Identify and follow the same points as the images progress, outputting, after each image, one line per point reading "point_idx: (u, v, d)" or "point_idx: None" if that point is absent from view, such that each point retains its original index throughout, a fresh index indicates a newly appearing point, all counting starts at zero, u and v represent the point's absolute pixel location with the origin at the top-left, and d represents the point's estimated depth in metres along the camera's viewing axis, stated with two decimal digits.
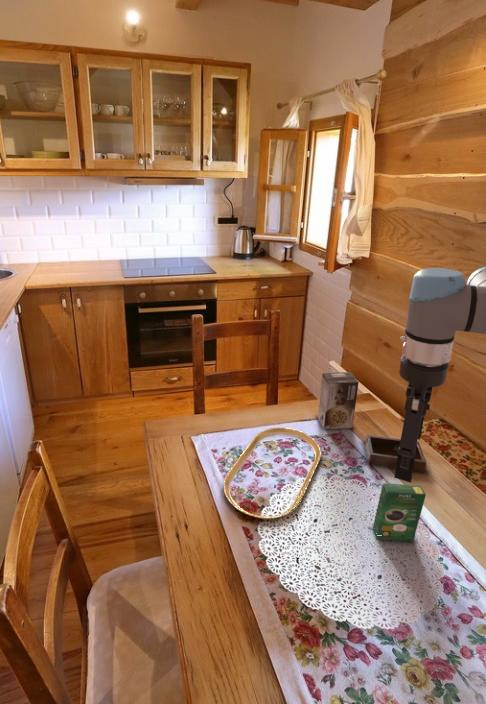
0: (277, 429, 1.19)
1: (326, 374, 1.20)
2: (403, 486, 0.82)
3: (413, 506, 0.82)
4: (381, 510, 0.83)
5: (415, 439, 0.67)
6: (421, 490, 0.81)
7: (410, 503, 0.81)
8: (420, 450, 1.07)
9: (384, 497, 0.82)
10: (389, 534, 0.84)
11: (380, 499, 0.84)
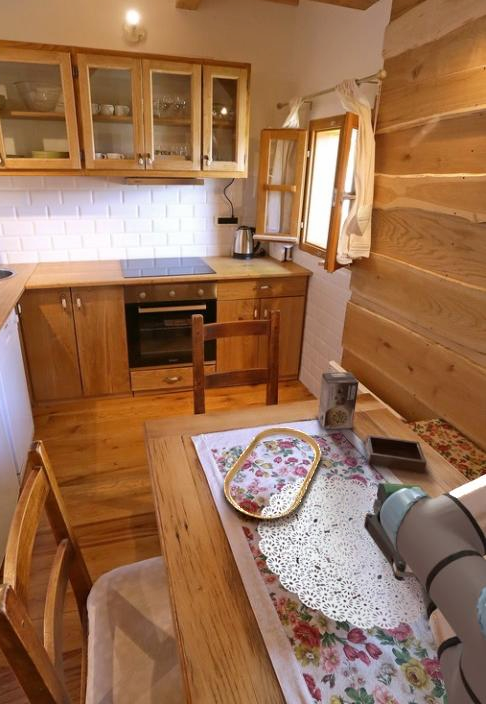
0: (277, 429, 1.19)
1: (326, 374, 1.20)
2: (403, 486, 0.82)
3: None
4: None
5: None
6: None
7: None
8: (420, 450, 1.07)
9: None
10: None
11: None
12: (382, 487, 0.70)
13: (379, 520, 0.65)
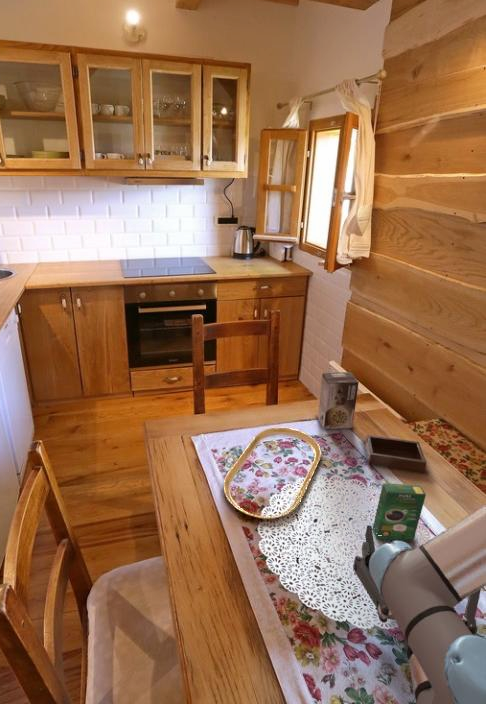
0: (277, 429, 1.19)
1: (326, 374, 1.20)
2: (403, 486, 0.82)
3: (413, 506, 0.82)
4: (381, 510, 0.83)
5: (478, 597, 0.65)
6: (421, 490, 0.81)
7: (410, 503, 0.81)
8: (420, 450, 1.07)
9: (384, 497, 0.82)
10: (389, 534, 0.84)
11: (380, 499, 0.84)
12: (370, 530, 0.77)
13: (366, 563, 0.71)
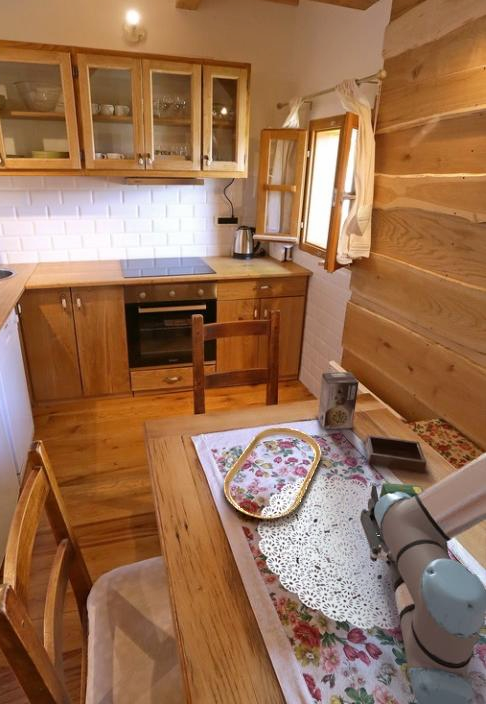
0: (277, 429, 1.19)
1: (326, 374, 1.20)
2: (403, 486, 0.82)
3: None
4: None
5: None
6: (421, 490, 0.81)
7: None
8: (420, 450, 1.07)
9: None
10: None
11: None
12: (375, 488, 0.88)
13: (372, 515, 0.82)
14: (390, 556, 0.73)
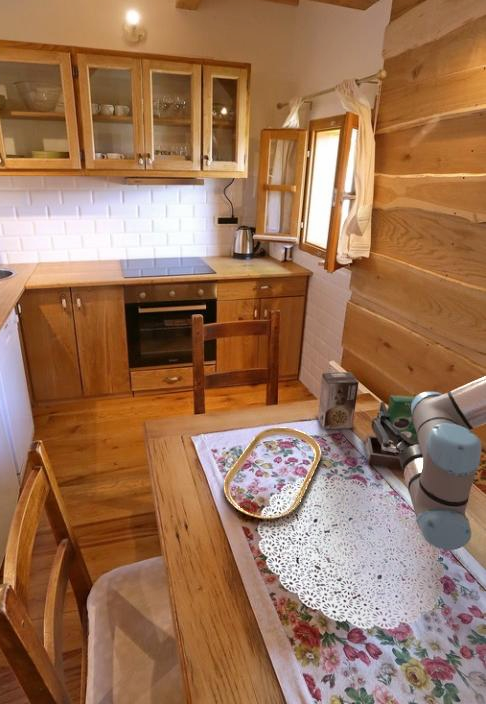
0: (277, 429, 1.19)
1: (326, 374, 1.20)
2: (408, 397, 0.94)
3: None
4: (389, 419, 0.95)
5: None
6: None
7: None
8: None
9: (392, 406, 0.94)
10: None
11: (388, 410, 0.96)
12: (383, 404, 1.00)
13: (382, 422, 0.94)
14: (399, 447, 0.85)
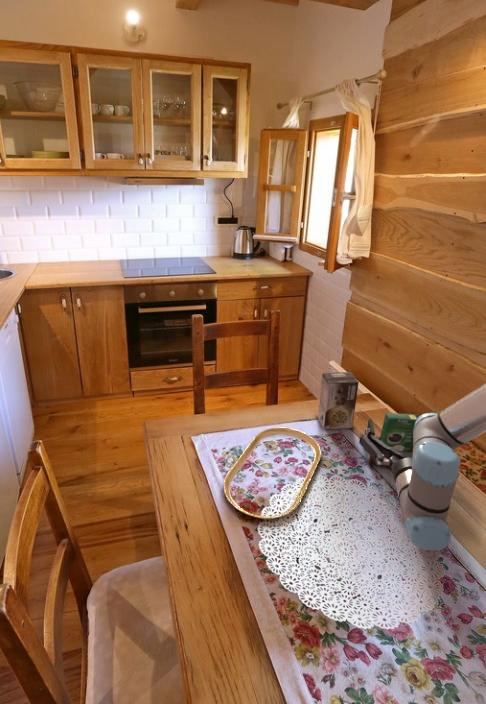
0: (277, 429, 1.19)
1: (326, 374, 1.20)
2: (401, 414, 1.05)
3: (409, 430, 1.05)
4: (384, 434, 1.06)
5: None
6: (415, 417, 1.04)
7: (407, 427, 1.04)
8: None
9: (386, 422, 1.05)
10: None
11: (383, 426, 1.07)
12: (371, 421, 1.09)
13: (368, 438, 1.04)
14: (392, 460, 0.95)
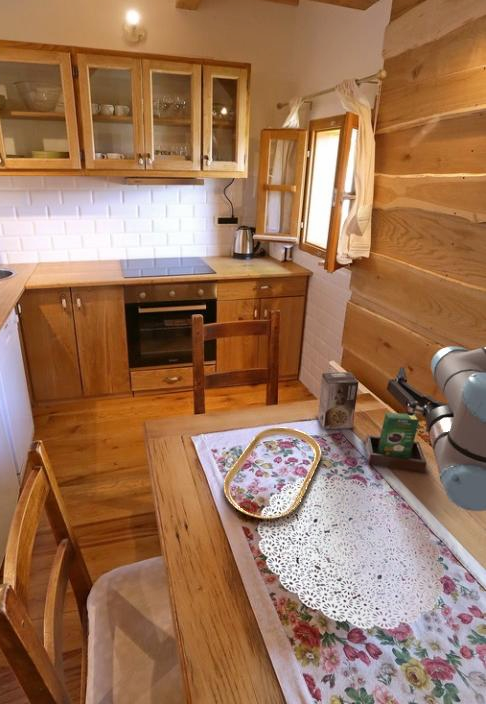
0: (277, 429, 1.19)
1: (326, 374, 1.20)
2: (401, 414, 1.05)
3: (409, 430, 1.05)
4: (384, 434, 1.06)
5: None
6: (415, 417, 1.04)
7: (407, 427, 1.04)
8: (420, 450, 1.07)
9: (386, 422, 1.05)
10: (390, 454, 1.07)
11: (383, 426, 1.07)
12: (403, 368, 0.92)
13: (399, 384, 0.86)
14: (427, 408, 0.77)
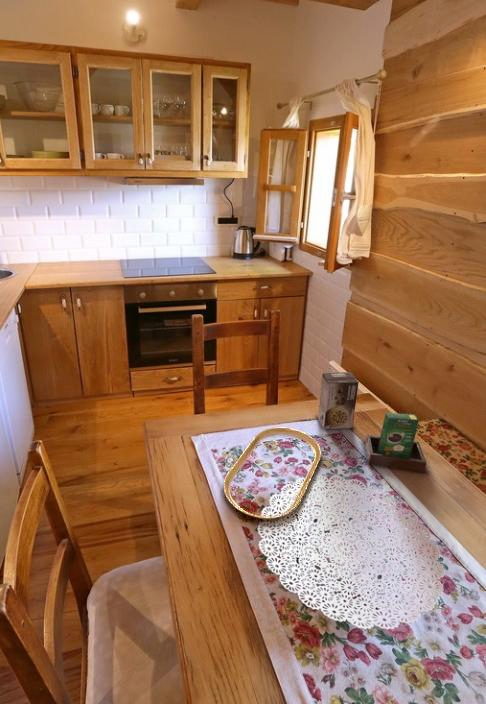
0: (277, 429, 1.19)
1: (326, 374, 1.20)
2: (401, 414, 1.05)
3: (409, 430, 1.05)
4: (384, 434, 1.06)
5: None
6: (415, 417, 1.04)
7: (407, 427, 1.04)
8: (420, 450, 1.07)
9: (386, 422, 1.05)
10: (390, 454, 1.07)
11: (383, 426, 1.07)
12: None
13: None
14: None
